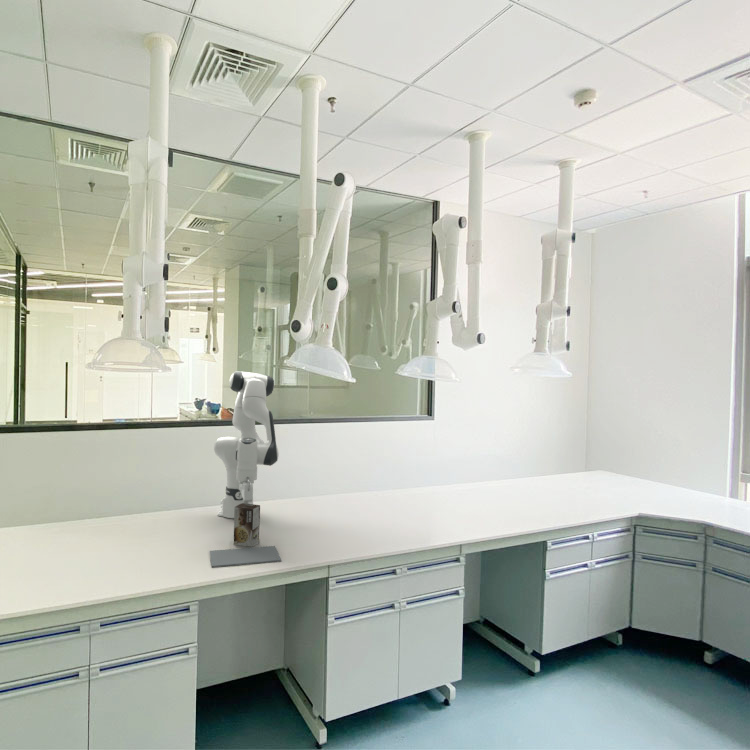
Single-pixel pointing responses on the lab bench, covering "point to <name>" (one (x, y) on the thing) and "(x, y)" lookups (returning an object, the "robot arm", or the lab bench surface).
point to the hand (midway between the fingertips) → (245, 506)
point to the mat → (244, 556)
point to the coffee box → (246, 524)
